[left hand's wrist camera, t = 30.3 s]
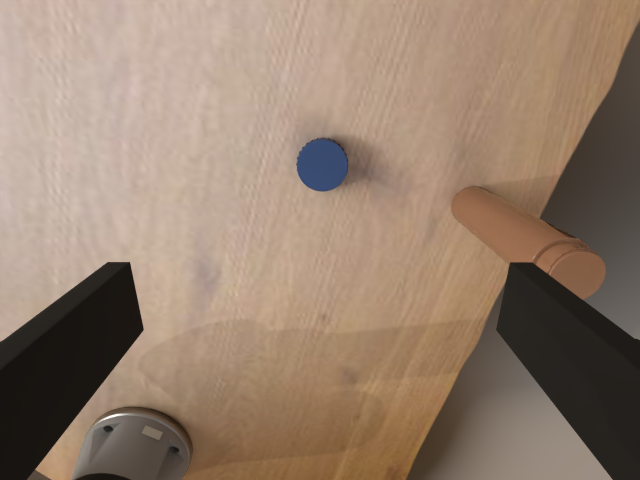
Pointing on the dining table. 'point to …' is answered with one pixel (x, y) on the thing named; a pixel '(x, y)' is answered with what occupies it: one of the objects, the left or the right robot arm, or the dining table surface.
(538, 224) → the bottle
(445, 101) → the dining table surface
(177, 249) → the dining table surface
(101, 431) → the left robot arm
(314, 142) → the lid
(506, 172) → the dining table surface
